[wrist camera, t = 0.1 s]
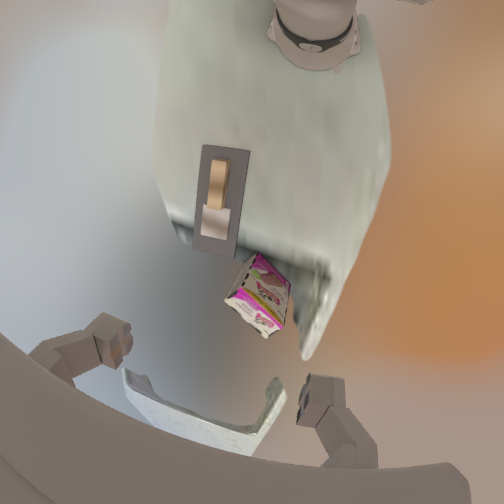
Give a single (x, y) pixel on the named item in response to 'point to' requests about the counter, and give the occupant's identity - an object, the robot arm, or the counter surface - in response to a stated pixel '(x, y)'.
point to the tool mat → (232, 198)
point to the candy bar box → (260, 295)
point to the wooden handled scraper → (217, 202)
